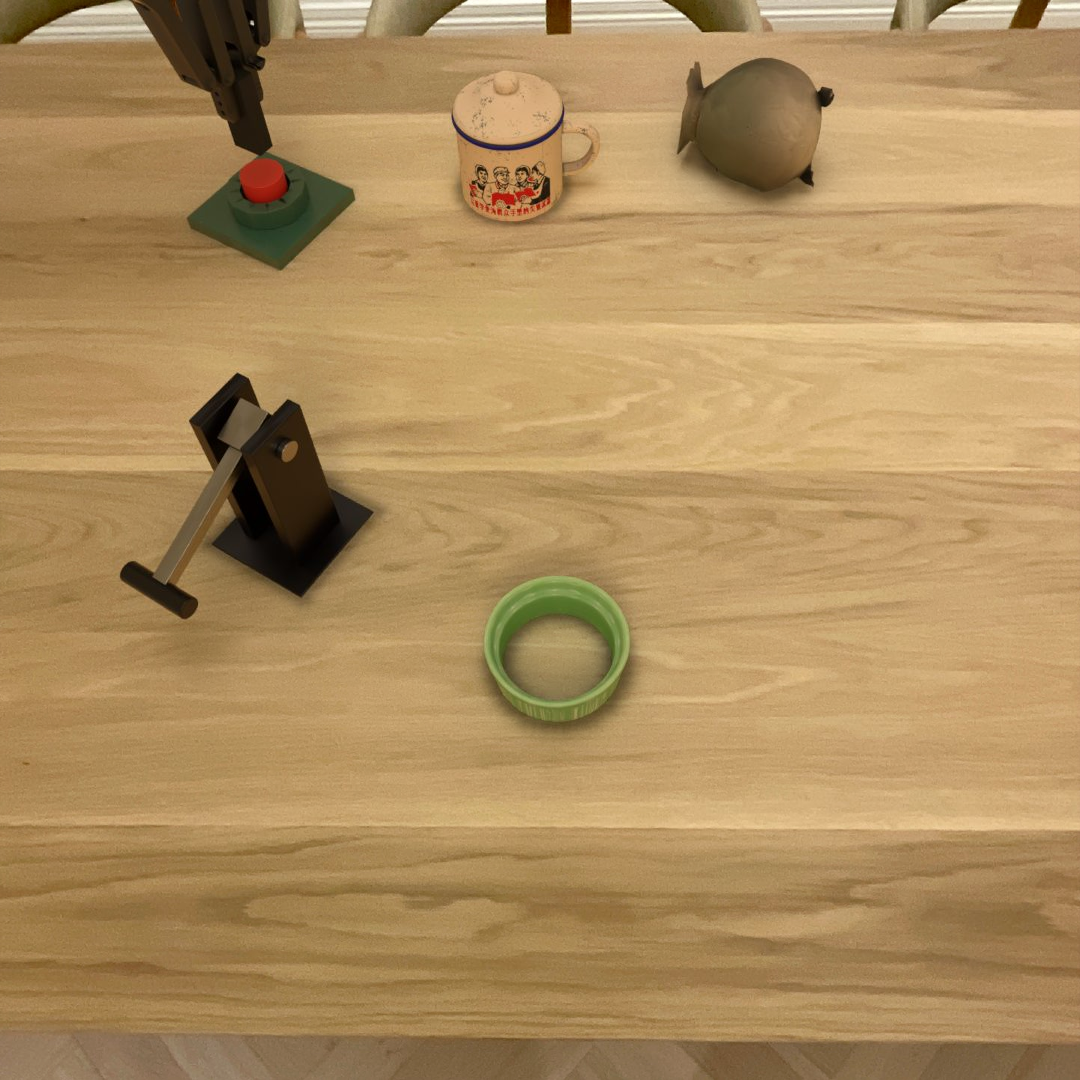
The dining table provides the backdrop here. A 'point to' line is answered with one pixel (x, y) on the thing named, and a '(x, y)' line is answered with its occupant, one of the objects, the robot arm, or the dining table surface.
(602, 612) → the ramekin
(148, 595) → the lever
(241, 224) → the button box
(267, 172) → the button
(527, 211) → the teacup with lid
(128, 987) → the dining table surface
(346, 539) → the bracket
